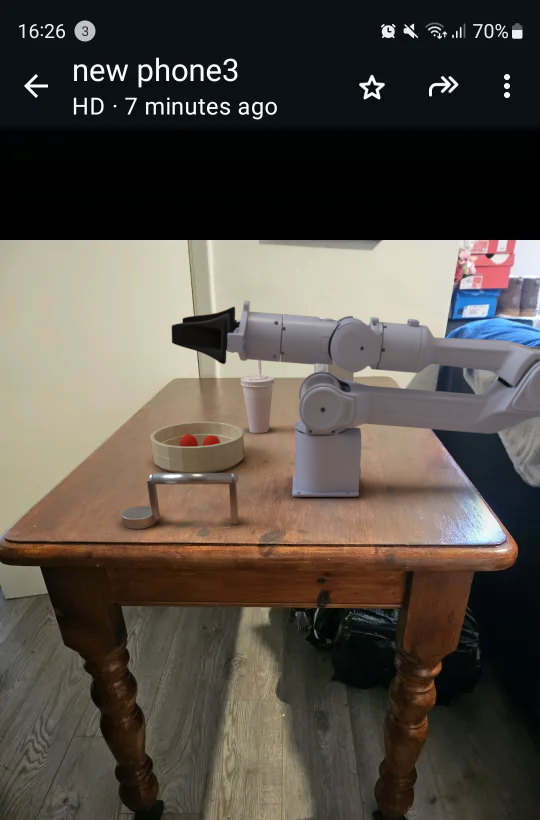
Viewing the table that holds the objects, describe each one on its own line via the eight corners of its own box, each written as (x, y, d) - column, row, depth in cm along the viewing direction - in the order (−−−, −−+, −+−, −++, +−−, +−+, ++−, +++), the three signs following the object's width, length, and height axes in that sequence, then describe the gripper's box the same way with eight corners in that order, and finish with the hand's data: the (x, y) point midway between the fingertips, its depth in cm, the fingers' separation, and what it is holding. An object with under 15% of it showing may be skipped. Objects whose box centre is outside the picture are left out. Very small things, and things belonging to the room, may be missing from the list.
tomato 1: (199, 449, 101) (198, 432, 100) (196, 454, 99) (195, 437, 97) (182, 449, 102) (180, 432, 100) (179, 455, 99) (177, 437, 98)
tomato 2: (222, 450, 101) (220, 433, 99) (219, 455, 98) (218, 438, 97) (204, 450, 101) (203, 433, 99) (202, 455, 98) (200, 438, 97)
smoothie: (281, 431, 112) (281, 353, 105) (254, 437, 109) (251, 357, 102) (263, 424, 117) (261, 349, 110) (236, 429, 114) (232, 353, 107)
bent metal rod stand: (119, 529, 75) (111, 479, 72) (128, 515, 79) (120, 467, 75) (238, 529, 74) (236, 479, 71) (241, 515, 78) (239, 467, 75)
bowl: (247, 446, 104) (246, 421, 102) (239, 475, 92) (238, 447, 89) (164, 446, 105) (161, 421, 103) (144, 475, 92) (140, 447, 90)
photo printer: (326, 417, 121) (328, 353, 114) (310, 414, 123) (311, 351, 117) (354, 407, 127) (358, 346, 121) (338, 404, 130) (341, 344, 123)
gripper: (285, 299, 80) (187, 291, 80) (282, 310, 68) (165, 300, 68) (281, 354, 84) (187, 346, 84) (277, 373, 71) (167, 364, 71)
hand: (177, 330), depth 76 cm, fingers open, 7 cm apart
